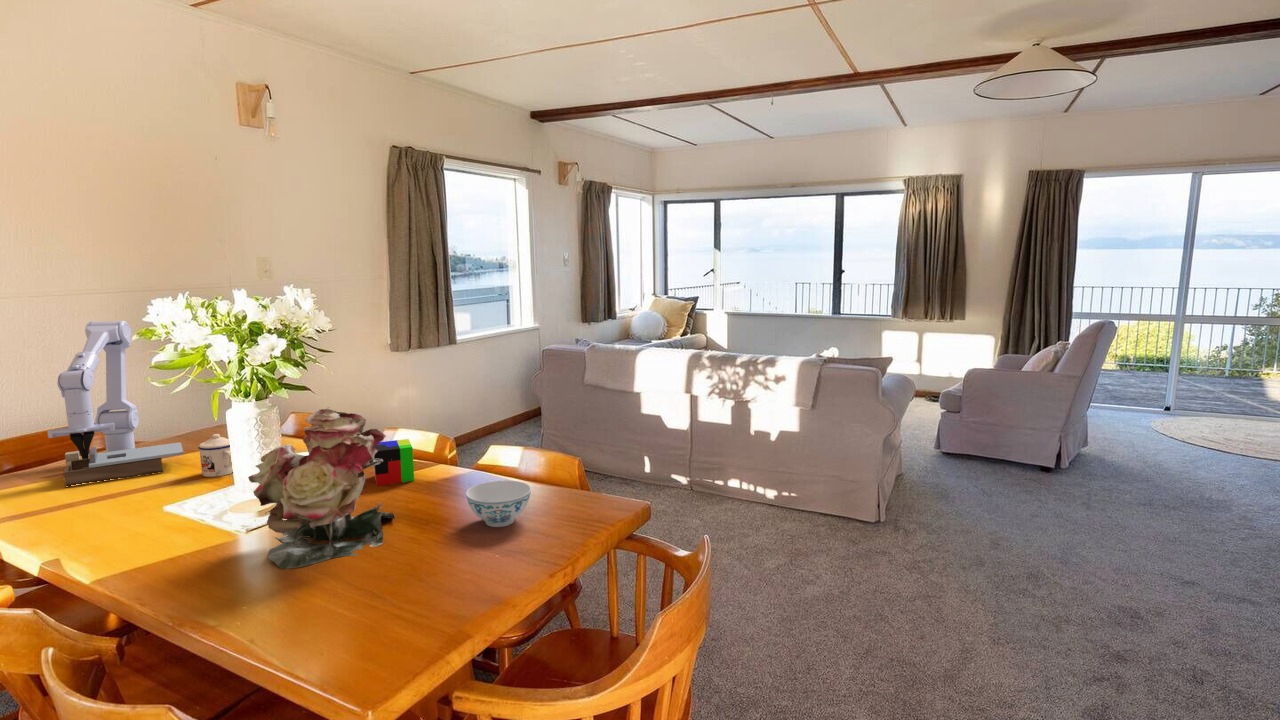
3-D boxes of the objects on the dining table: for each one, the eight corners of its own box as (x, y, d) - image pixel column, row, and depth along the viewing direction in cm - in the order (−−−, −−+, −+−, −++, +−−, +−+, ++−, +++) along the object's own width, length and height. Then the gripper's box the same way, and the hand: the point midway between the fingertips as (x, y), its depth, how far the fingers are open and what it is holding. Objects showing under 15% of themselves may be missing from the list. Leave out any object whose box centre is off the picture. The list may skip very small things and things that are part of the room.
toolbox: (69, 475, 195) (67, 461, 194) (161, 461, 208) (160, 448, 207) (65, 487, 184) (63, 472, 183) (162, 472, 197) (161, 458, 196)
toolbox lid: (91, 456, 197) (90, 446, 197) (181, 444, 210) (180, 434, 210) (89, 467, 186) (87, 456, 186) (183, 454, 199) (182, 443, 199)
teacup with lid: (194, 474, 195) (190, 436, 193) (226, 466, 202) (223, 429, 201) (217, 481, 189) (213, 441, 187) (249, 472, 196) (246, 434, 195)
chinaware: (517, 536, 149) (516, 503, 148) (456, 531, 152) (454, 499, 151) (540, 512, 163) (539, 482, 162) (484, 508, 166) (482, 478, 165)
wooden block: (68, 472, 198) (65, 452, 197) (81, 470, 200) (78, 450, 199) (67, 474, 195) (64, 454, 195) (80, 472, 197) (78, 453, 196)
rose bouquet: (260, 532, 152) (249, 404, 148) (395, 514, 163) (388, 394, 159) (240, 580, 128) (226, 430, 124) (399, 555, 139) (391, 416, 135)
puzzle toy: (374, 476, 193) (372, 442, 191) (410, 471, 197) (408, 438, 195) (376, 486, 184) (374, 451, 182) (414, 481, 188) (412, 447, 186)
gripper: (44, 418, 181) (50, 466, 183) (111, 411, 189) (117, 456, 191) (46, 413, 186) (53, 460, 188) (112, 406, 195) (117, 451, 197)
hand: (85, 458), depth 190 cm, fingers closed
